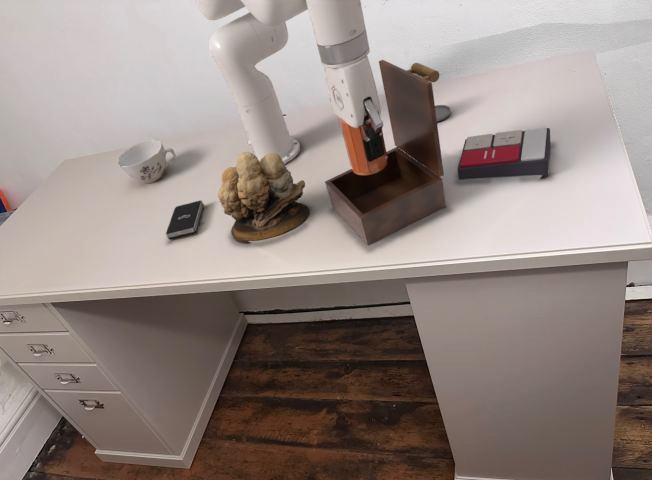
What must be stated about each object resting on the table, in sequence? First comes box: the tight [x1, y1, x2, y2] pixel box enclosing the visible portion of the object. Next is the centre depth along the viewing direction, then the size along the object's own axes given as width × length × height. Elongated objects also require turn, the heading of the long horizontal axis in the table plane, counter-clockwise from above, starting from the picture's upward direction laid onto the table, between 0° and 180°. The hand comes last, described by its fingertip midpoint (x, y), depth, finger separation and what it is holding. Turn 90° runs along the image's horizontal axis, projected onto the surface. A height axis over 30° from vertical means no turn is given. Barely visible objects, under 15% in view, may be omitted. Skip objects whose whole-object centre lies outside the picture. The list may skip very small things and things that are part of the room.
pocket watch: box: [435, 104, 452, 122], centre depth 116 cm, size 8×8×10 cm
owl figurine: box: [217, 151, 310, 245], centre depth 103 cm, size 18×12×17 cm, turn 89°
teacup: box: [117, 139, 176, 184], centre depth 140 cm, size 15×12×8 cm
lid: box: [378, 59, 445, 178], centre depth 90 cm, size 17×16×5 cm
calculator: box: [457, 127, 551, 180], centre depth 97 cm, size 11×4×15 cm
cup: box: [338, 116, 388, 175], centre depth 90 cm, size 6×6×10 cm
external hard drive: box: [165, 199, 205, 241], centre depth 118 cm, size 7×11×2 cm, turn 176°
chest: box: [324, 146, 447, 246], centre depth 97 cm, size 16×16×7 cm
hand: (366, 149), depth 91 cm, fingers closed on cup, 6 cm apart
